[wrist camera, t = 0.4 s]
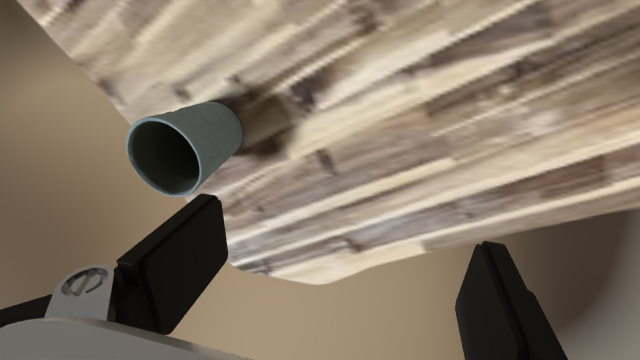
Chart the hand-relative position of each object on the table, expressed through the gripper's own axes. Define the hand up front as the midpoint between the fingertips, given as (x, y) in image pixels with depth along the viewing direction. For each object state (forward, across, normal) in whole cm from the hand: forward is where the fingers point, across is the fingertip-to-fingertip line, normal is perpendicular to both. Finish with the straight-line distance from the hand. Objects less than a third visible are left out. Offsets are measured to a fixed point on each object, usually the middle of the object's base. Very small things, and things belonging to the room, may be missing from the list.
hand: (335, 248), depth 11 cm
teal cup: (+30, +24, +7) cm, 39 cm away
